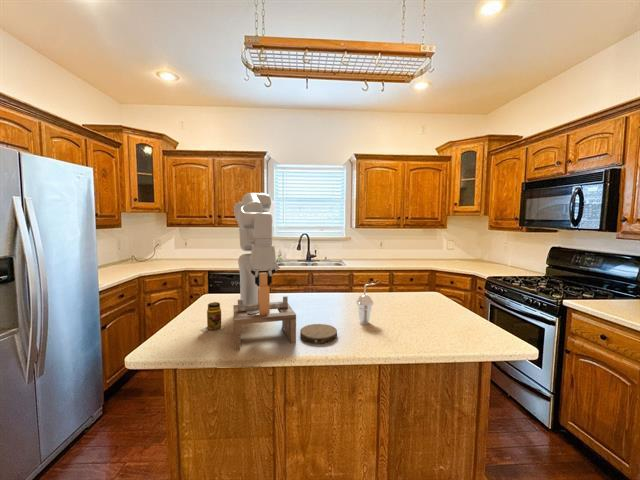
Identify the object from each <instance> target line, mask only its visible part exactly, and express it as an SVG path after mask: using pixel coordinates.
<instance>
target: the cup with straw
mask: <svg viewBox="0 0 640 480" xmlns="http://www.w3.org/2000/svg"><path fill="white" fill-rule="evenodd" d="M376 284H377V283H375V282H373V283H367V284H366V283H365V284H364V286H363V294H361V295H360V296H359V297H358V298H357V300H356V302H355V303H356V305H357V308H358V309H357V310H358V317H359V318H358V320H359V323H360V324H362V325H368V324H369V323H370V318H371V310H372V308H373V305H374V301H373V300H372V297H370V295H368V294H366V287H367V286H374V285H376Z"/></svg>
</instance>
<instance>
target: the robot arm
mask: <svg viewBox="0 0 640 480" xmlns="http://www.w3.org/2000/svg"><path fill="white" fill-rule="evenodd" d="M271 206H272V199H271V196H270V195H269V194H267V193H266V192H265V193H264V192H260V193H259V192H248V193H245V194H244V195H243V196H242V198H241V201H238V202H236V203H235V204H234V207H233V212H234V217H235V220H236V222H237V224H238V230H239V245H240V249H241V250H242V251H243V252H250V253H243V254H241V255H239V257H238V260H237V263H238V270H239V281H240V283H239V284H240V285H239V289H240V290H239V291H240V293H239V295H240V296H239V297H240V298H239V299H242V300H243V305H244V304H257V303H258V286H259V273H260V272H259V271H267V284H268V285H269V287H270V286H271V284H272V277H273V275H274V274H275V273H276V272H277V271H278V270H280V265H279V264H278V263H277V260H276V249H275V245H274V244H273V216H272V213H270V212H269V211H270V209H271ZM256 314H259V310H257V311H247V315H256Z"/></svg>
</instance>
